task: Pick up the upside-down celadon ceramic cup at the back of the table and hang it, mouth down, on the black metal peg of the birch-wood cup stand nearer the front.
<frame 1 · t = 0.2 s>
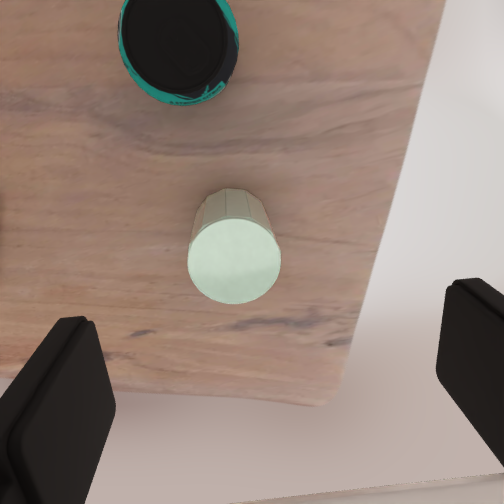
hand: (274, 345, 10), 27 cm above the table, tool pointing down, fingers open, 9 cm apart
beverage can: (192, 57, 32), on the table
cup: (232, 224, 38), on the table
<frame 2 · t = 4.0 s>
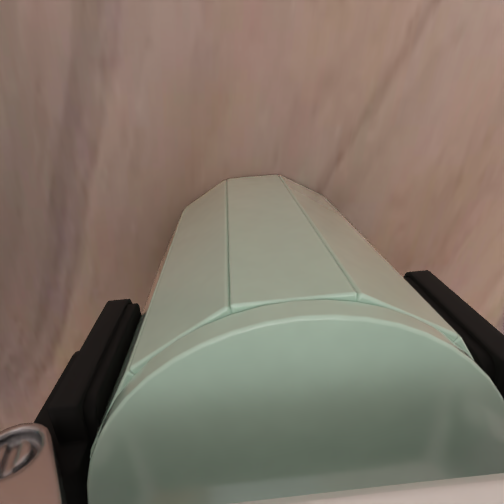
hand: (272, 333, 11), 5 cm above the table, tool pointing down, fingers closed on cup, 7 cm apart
cup: (258, 265, 15), on the table, touching gripper
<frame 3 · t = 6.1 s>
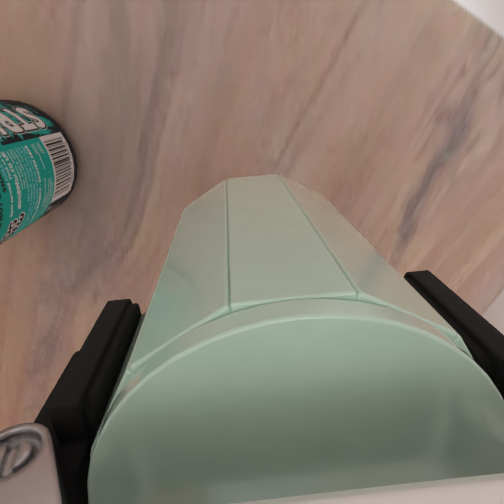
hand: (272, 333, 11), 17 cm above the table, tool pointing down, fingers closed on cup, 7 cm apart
beverage can: (26, 157, 25), on the table
cup: (258, 265, 15), point 12 cm above the table, touching gripper
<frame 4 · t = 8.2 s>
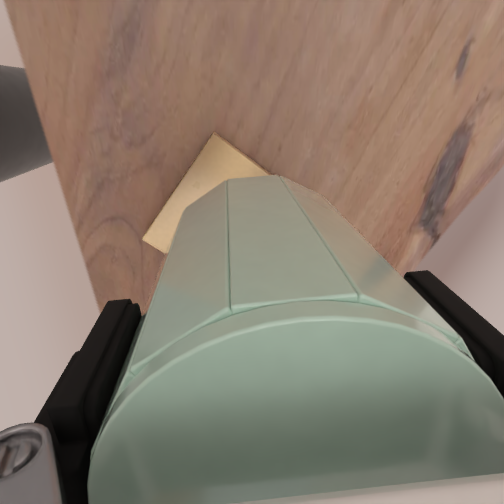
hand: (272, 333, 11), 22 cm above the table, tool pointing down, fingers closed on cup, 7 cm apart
cup stand: (229, 219, 32), on the table
cup: (259, 265, 15), point 17 cm above the table, touching gripper
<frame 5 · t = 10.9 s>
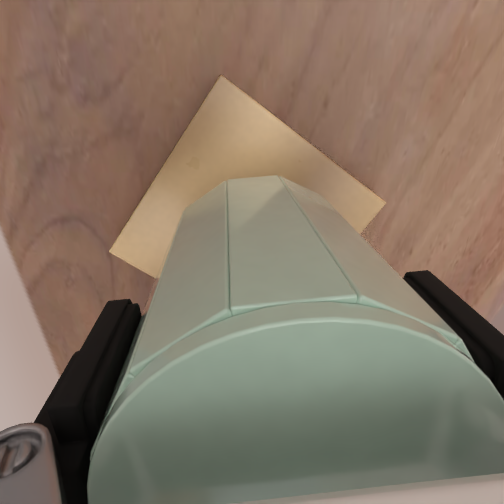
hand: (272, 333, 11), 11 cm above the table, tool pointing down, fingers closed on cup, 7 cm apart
cup stand: (246, 218, 21), on the table
cup: (259, 266, 15), point 6 cm above the table, touching gripper
when the fingers open (8 cm above the table, at t = 12.2 s): cup stays where it is, resting on cup stand.
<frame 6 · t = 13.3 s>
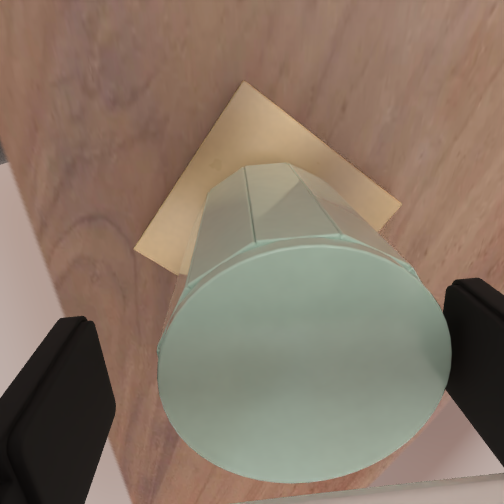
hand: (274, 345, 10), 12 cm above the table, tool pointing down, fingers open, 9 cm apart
cup stand: (264, 218, 21), on the table
cup: (270, 239, 18), point 4 cm above the table, touching cup stand
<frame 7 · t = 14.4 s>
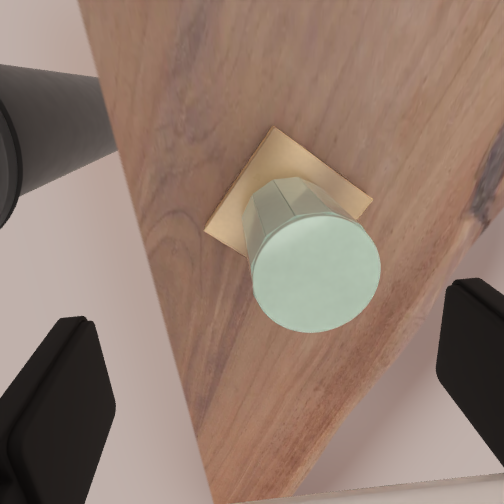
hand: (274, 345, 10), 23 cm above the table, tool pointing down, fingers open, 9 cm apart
cup stand: (285, 210, 33), on the table
cup: (288, 223, 30), point 4 cm above the table, touching cup stand
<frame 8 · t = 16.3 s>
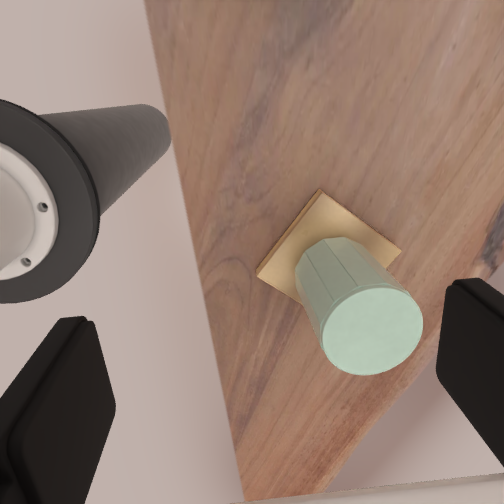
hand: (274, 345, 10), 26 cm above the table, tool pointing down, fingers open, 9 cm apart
cup stand: (325, 257, 38), on the table
cup: (333, 273, 35), point 4 cm above the table, touching cup stand
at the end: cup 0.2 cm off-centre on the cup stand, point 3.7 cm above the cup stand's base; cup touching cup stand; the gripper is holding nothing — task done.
